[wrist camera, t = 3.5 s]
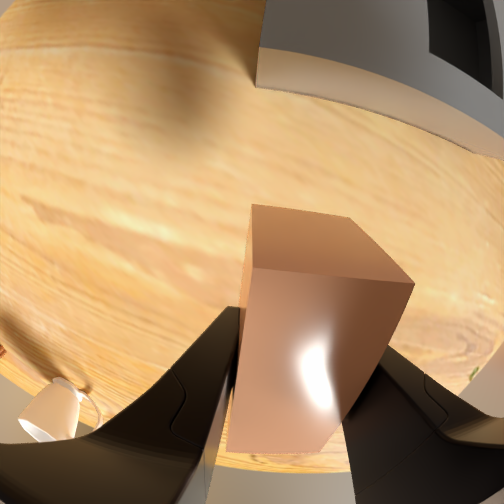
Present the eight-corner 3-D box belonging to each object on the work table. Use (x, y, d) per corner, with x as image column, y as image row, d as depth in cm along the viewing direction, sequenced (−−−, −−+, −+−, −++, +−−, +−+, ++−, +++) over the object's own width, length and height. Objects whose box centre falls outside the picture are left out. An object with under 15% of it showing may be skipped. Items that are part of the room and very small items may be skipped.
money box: (475, 22, 9) (537, 8, 3) (473, 153, 14) (549, 175, 7) (278, -57, 9) (290, -124, 2) (255, 87, 13) (258, 47, 6)
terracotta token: (349, 218, 8) (415, 283, 4) (304, 369, 11) (319, 452, 7) (251, 203, 8) (252, 267, 4) (231, 364, 11) (225, 451, 7)
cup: (36, 363, 23) (6, 410, 16) (99, 379, 23) (72, 439, 16) (60, 399, 26) (38, 444, 19) (121, 416, 26) (103, 470, 18)
